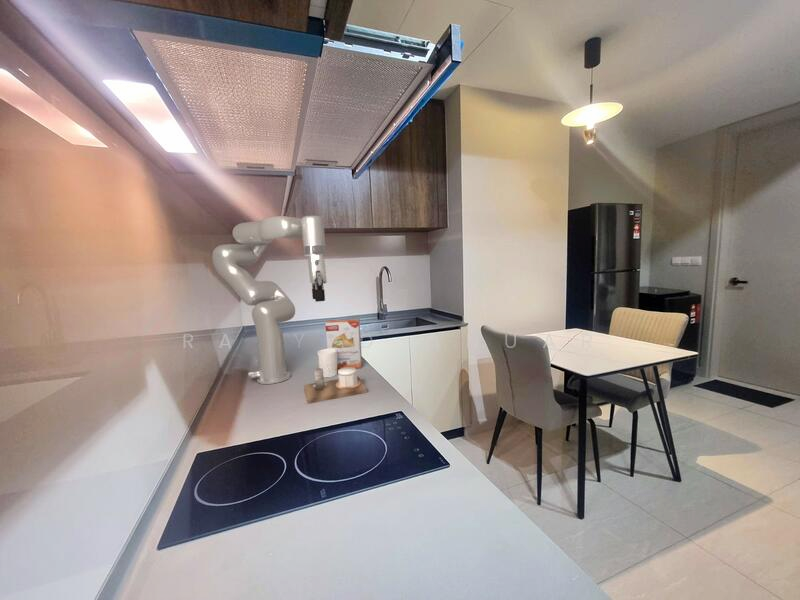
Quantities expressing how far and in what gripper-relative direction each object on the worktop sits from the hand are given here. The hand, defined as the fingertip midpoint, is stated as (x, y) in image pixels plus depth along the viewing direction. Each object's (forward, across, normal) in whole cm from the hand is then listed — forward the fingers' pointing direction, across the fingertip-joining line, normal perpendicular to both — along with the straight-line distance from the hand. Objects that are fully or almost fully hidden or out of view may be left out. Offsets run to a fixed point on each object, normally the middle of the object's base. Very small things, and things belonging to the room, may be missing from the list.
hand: (318, 299), depth 115 cm
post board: (+32, -6, -2) cm, 33 cm away
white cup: (+32, +12, -3) cm, 35 cm away
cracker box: (+32, +18, -11) cm, 39 cm away
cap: (+31, -6, -8) cm, 32 cm away
